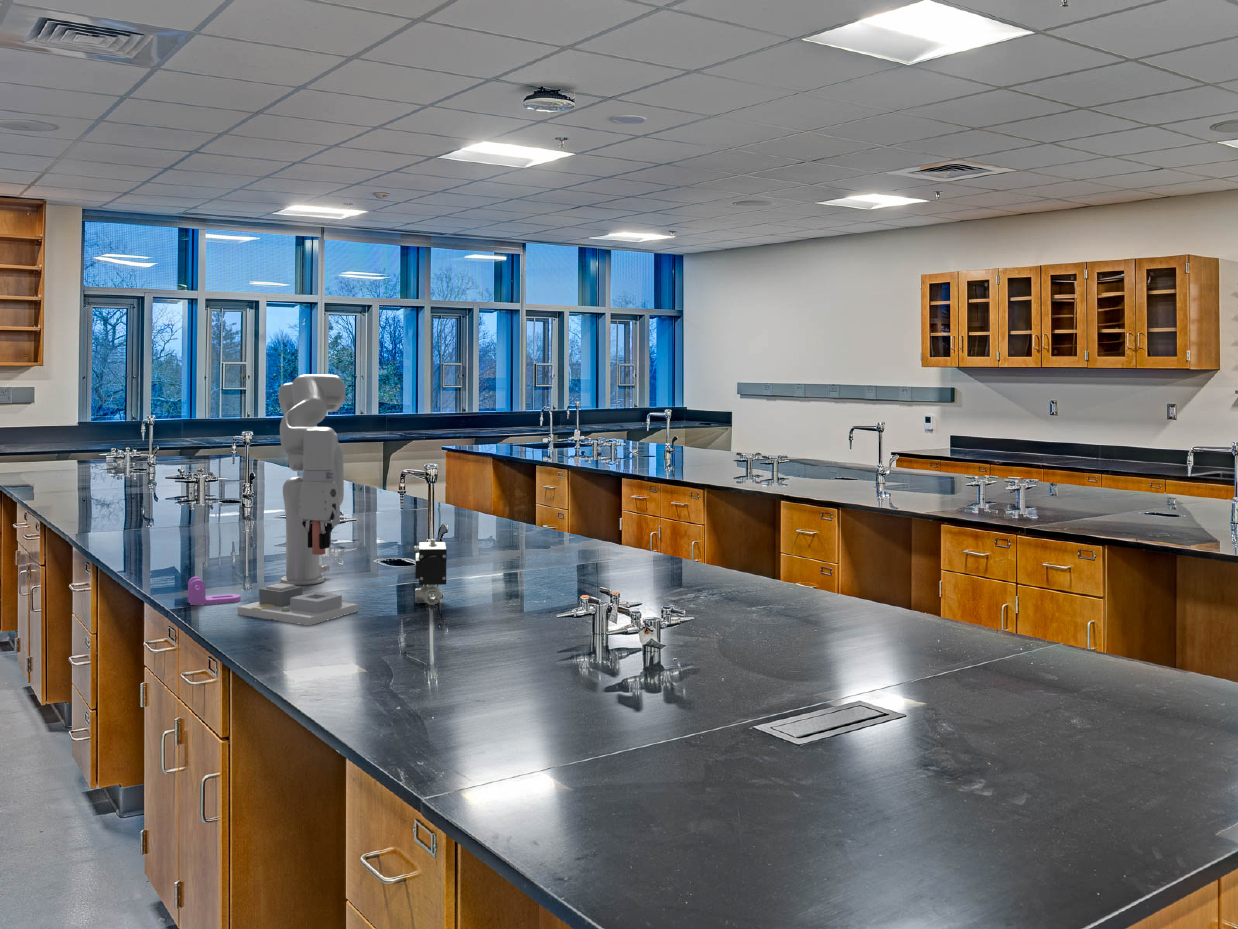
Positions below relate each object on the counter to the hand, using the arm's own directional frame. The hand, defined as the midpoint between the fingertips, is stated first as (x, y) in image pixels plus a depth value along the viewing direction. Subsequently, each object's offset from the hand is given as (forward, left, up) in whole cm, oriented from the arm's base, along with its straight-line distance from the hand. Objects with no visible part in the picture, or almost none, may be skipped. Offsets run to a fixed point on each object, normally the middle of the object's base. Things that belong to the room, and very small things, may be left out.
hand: (318, 547), depth 261 cm
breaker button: (+1, -12, -15) cm, 19 cm away
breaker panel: (+1, -6, -18) cm, 19 cm away
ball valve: (-26, +16, -18) cm, 35 cm away
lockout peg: (0, 0, -2) cm, 2 cm away
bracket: (+2, -34, -18) cm, 39 cm away
